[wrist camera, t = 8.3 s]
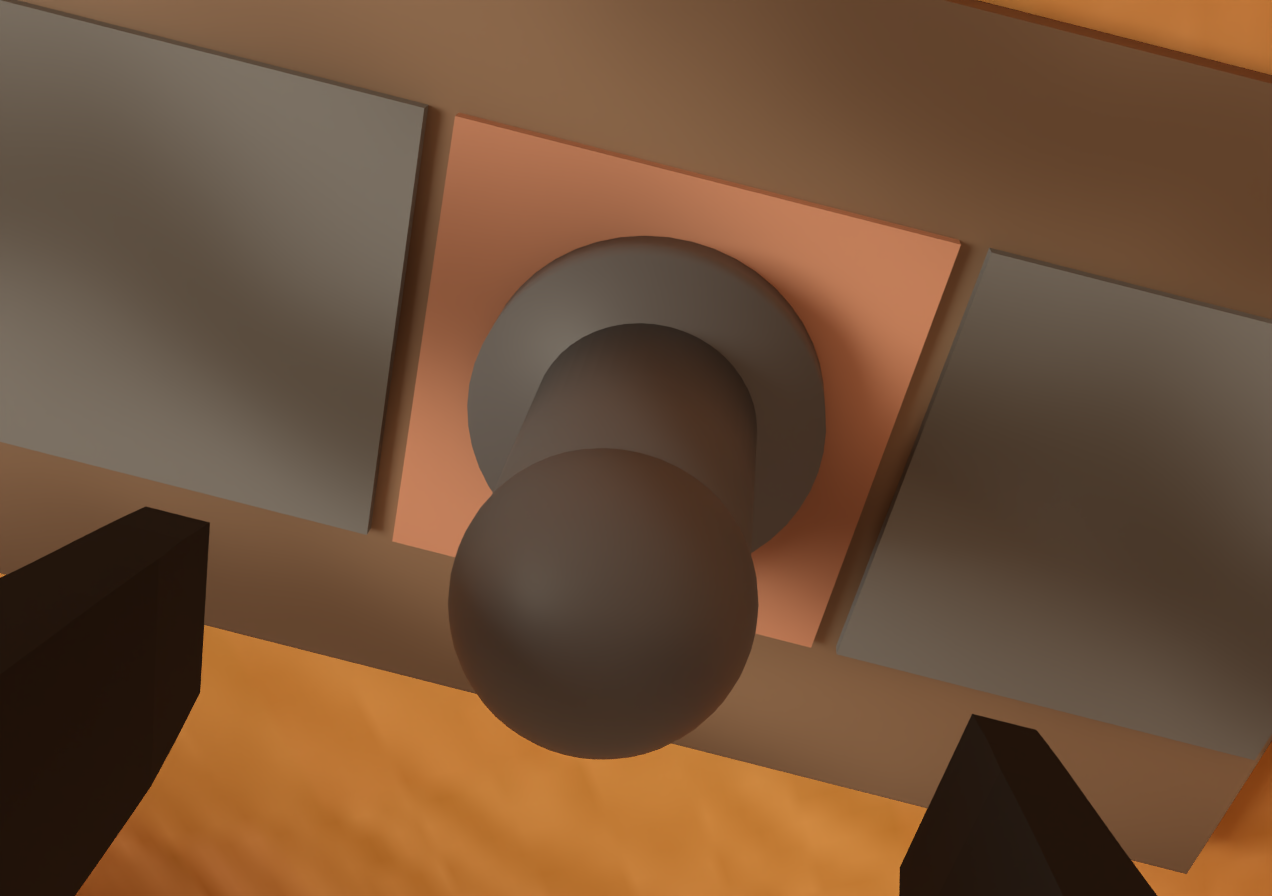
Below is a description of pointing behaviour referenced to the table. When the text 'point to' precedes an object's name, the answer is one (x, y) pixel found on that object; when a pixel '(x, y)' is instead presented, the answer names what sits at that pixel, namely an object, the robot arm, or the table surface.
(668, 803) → the table surface
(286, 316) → the board
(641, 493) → the pawn
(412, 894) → the table surface
